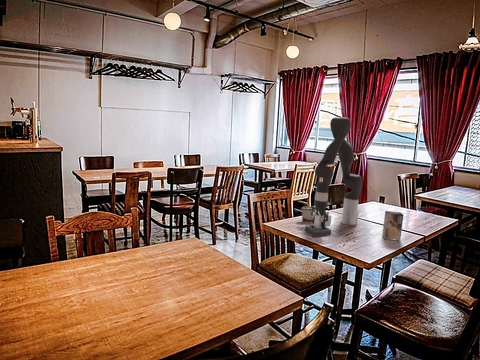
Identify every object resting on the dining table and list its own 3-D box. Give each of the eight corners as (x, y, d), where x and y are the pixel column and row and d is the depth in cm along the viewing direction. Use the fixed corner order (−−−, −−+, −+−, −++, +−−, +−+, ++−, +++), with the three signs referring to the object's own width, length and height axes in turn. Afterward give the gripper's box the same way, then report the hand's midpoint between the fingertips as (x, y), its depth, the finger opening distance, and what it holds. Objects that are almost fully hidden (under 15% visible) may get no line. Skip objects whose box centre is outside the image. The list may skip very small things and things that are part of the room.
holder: (321, 227, 236) (322, 221, 235) (341, 237, 218) (342, 231, 217) (294, 228, 228) (295, 223, 228) (312, 239, 210) (313, 233, 210)
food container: (317, 221, 249) (319, 207, 247) (318, 224, 243) (320, 209, 241) (299, 219, 250) (300, 205, 248) (299, 222, 244) (301, 207, 242)
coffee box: (397, 237, 225) (401, 212, 222) (400, 241, 218) (404, 214, 216) (381, 236, 226) (385, 210, 223) (384, 239, 219) (387, 213, 217)
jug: (316, 232, 220) (318, 216, 218) (311, 230, 224) (313, 214, 223) (331, 231, 224) (333, 215, 222) (326, 229, 228) (328, 213, 227)
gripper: (333, 202, 214) (330, 228, 217) (319, 196, 227) (316, 221, 230) (322, 202, 212) (319, 229, 214) (309, 196, 225) (306, 222, 227)
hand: (318, 225), depth 222 cm, fingers open, 8 cm apart
